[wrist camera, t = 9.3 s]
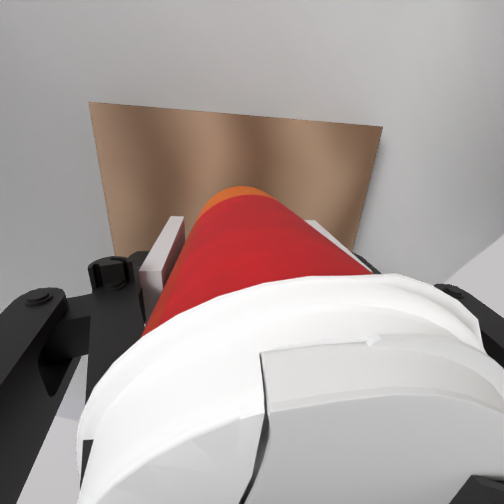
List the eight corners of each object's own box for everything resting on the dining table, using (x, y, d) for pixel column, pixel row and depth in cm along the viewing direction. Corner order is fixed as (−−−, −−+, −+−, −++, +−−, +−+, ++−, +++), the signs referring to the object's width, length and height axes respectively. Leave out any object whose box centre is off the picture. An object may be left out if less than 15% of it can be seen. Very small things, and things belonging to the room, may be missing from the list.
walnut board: (129, 295, 21) (123, 306, 20) (99, 104, 16) (88, 101, 14) (332, 293, 24) (338, 302, 22) (370, 127, 18) (383, 126, 17)
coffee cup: (256, 297, 20) (333, 632, 7) (158, 247, 17) (-52, 641, 4) (324, 209, 18) (669, 454, 4) (223, 135, 15) (269, 151, 1)
